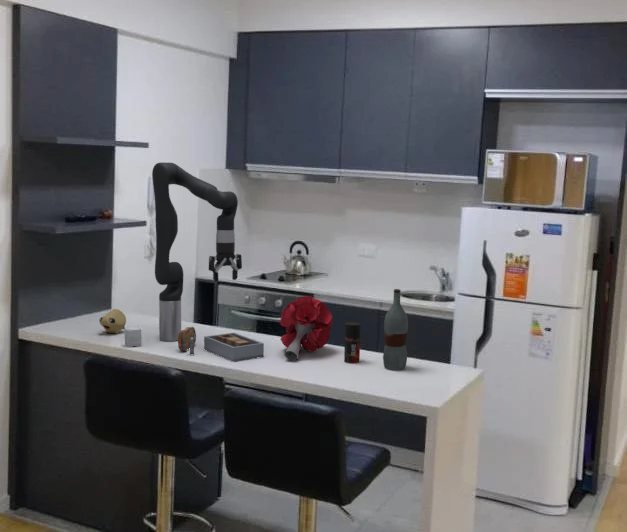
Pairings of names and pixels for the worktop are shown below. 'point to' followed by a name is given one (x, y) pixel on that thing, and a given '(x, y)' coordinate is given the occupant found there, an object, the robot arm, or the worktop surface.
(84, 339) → the worktop surface
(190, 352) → the ball stud
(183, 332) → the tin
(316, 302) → the bouquet
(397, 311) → the bottle
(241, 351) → the bin
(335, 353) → the worktop surface
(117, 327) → the khaki toy head
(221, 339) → the brown segmented bar
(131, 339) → the skincare box
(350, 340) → the deodorant
